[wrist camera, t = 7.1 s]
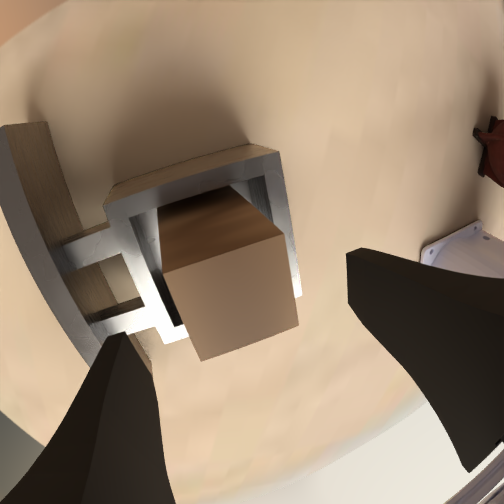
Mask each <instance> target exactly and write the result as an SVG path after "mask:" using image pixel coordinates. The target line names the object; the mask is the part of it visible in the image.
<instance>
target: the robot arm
mask: <svg viewBox="0 0 504 504" xmlns="http://www.w3.org/2000/svg"><path fill="white" fill-rule="evenodd" d="M482 225H483V223H482V221H481V220H477V221H475V222H474V223H472V224H470V225H468V226H466V227H464V228H462V229H460V230H458V231H456V232H454V233H452V234H450V235H448V236H446V237H444V238H442V239H440V240H438V241H436V242H434V243H432V244H430V245H428V246H426V247H424V248H423V250H422V252H421V261H420V263H419V262H415V261H411V260H408V259H404V258H401V257H397V256H394V255H390V254H387V253H383V252H379V251H376V250H371V249H367V248H359V249H356V250H354V251H351V252H349V253H346V263H347V287H348V304H349V305H350V307H351V308H352V310H353V311H354V313H355V314H356V316H357V317H358V318H359V320H360V321H361V322H362V324H363V325H364V326H365V327H366V328H367V329H368V330H369V332H370V333H371V334H372V335H373V336H374V337H375V338H376V339H377V340H378V341H379V342H380V343H381V344H382V345H383V346H384V347H385V348H386V350H387V351H388V352H389V353H390V354H391V355H392V356H393V357H394V358H395V359H396V360H397V361H398V362H399V363H400V364H401V365H402V366H403V368H404V369H405V370H406V371H407V372H408V373H409V375H410V376H411V377H412V379H413V380H414V381H415V383H416V384H417V386H418V387H419V388H420V390H421V391H422V393H423V394H424V395H425V397H426V398H427V400H428V402H429V403H430V405H431V406H432V408H433V409H434V411H435V412H436V414H437V416H438V417H439V419H440V421H441V423H442V424H443V426H444V428H445V430H446V432H447V433H448V435H449V437H450V439H451V441H452V443H453V446H454V448H455V450H456V452H457V454H458V456H459V459H460V461H461V463H462V466H463V467H464V468H465V469H466V470H467V472H468V473H470V472H471V471H472V470H473V469H475V468H476V467H477V466H478V465H479V464H480V463H481V462H482V461H483V460H484V459H485V458H486V457H487V456H488V455H489V454H490V453H491V452H492V451H493V450H494V449H495V448H496V447H497V446H498V445H499V444H500V443H501V442H503V443H504V241H502V240H500V239H498V238H496V237H495V236H493V235H491V234H489V233H487V232H485V231H483V230H482ZM503 478H504V449H503V451H502V452H501V453H500V454H499V455H498V456H497V457H496V458H495V459H494V460H493V461H492V462H491V463H490V464H489V465H488V466H487V467H486V468H485V469H484V470H482V471H481V473H480V474H478V475H477V476H476V477H475V478H474V479H473V480H472V481H471V482H469V483H468V484H467V485H466V486H465V487H464V488H462V489H461V490H460V491H459V492H458V493H456V494H455V495H454V496H453V497H451V498H450V499H449V500H448V501H446V502H445V503H444V504H477V503H478V502H479V501H480V500H481V499H482V498H483V497H484V496H485V495H487V494H488V493H489V492H490V491H491V490H492V489H493V488H494V487H495V486H496V485H497V484H498V483H499V482H500V480H502V479H503ZM0 504H176V503H175V500H174V496H173V493H172V490H171V486H170V483H169V479H168V476H167V471H166V466H165V459H164V452H163V444H162V436H161V427H160V418H159V408H158V401H157V396H156V391H155V387H154V382H153V378H152V375H151V373H150V371H149V370H148V368H147V367H146V365H145V364H144V362H143V360H142V359H141V357H140V356H139V354H138V352H137V351H136V349H135V347H134V346H133V344H132V342H131V341H130V339H129V337H128V336H127V334H126V332H125V331H123V332H120V333H117V334H114V335H110V336H107V338H106V340H105V341H104V343H103V345H102V347H101V348H100V350H99V352H98V354H97V356H96V358H95V360H94V362H93V364H92V366H91V368H90V370H89V372H88V374H87V376H86V378H85V380H84V382H83V384H82V386H81V388H80V390H79V391H78V393H77V395H76V397H75V399H74V400H73V402H72V404H71V406H70V408H69V410H68V412H67V414H66V415H65V417H64V419H63V421H62V422H61V424H60V426H59V427H58V429H57V430H56V432H55V434H54V435H53V437H52V438H51V440H50V441H49V443H48V444H47V446H46V447H45V449H44V450H43V451H42V453H41V454H40V456H39V457H38V458H37V459H36V461H35V462H34V464H33V465H32V466H31V468H30V469H29V471H28V472H27V473H26V474H25V476H23V478H22V479H21V480H20V481H19V482H18V484H17V485H16V486H15V487H14V488H13V489H12V490H11V491H10V492H9V493H8V495H7V496H6V497H5V498H4V499H3V500H2V501H1V502H0ZM479 504H504V483H503V484H502V485H500V486H499V487H498V488H497V489H495V490H494V491H493V492H491V493H490V494H489V495H488V496H487V497H485V498H484V499H483V500H482V501H481V502H480V503H479Z"/></svg>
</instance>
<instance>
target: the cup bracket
mask: <svg viewBox="0 0 504 504" xmlns="http://www.w3.org/2000/svg"><path fill="white" fill-rule="evenodd" d="M227 185H230V186H231V187H232V188H233V189H235V190H236V191H237V192H238V193H239V194H240V195H242V196H243V197H244V198H245V199H246V200H247V201H248V202H250V203H251V204H252V205H253V206H254V207H255V208H256V209H257V210H259V211H260V212H261V213H262V214H263V215H264V216H265V217H266V218H268V219H269V220H270V221H271V222H272V223H273V224H274V225H275V226H277V227H278V228H279V229H280V230H281V231H282V232H283V233H284V234H285V240H286V246H287V252H288V258H289V264H290V270H291V277H292V283H293V290H294V296H295V298H296V297H299V296H302V289H301V282H300V275H299V268H298V261H297V255H296V248H295V242H294V235H293V229H292V223H291V217H290V211H289V205H288V199H287V193H286V187H285V181H284V176H283V170H282V165H281V159H280V154H279V151H276V150H273V149H269V148H266V147H262V146H259V145H255V144H251V143H250V144H246V145H242V146H238V147H234V148H230V149H226V150H222V151H219V152H215V153H212V154H208V155H204V156H201V157H198V158H194V159H191V160H187V161H184V162H181V163H178V164H174V165H171V166H168V167H165V168H162V169H159V170H156V171H153V172H150V173H147V174H144V175H141V176H138V177H135V178H133V179H130V180H127V181H124V182H121V183H119V184H116V185H114V186H113V188H112V190H111V191H110V193H109V195H108V197H107V199H106V201H105V202H104V204H103V208H104V210H105V213H106V216H107V218H108V222H105V223H102V224H100V225H97V226H95V227H92V228H89V229H87V230H83V228H82V225H81V223H80V220H79V218H78V215H77V213H76V210H75V208H74V205H73V202H72V200H71V197H70V194H69V191H68V188H67V186H66V183H65V180H64V177H63V174H62V171H61V168H60V165H59V162H58V158H57V155H56V152H55V148H54V145H53V142H52V138H51V134H50V131H49V127H48V123H47V122H33V123H22V124H11V125H4V126H2V127H0V206H1V208H2V211H3V213H4V216H5V218H6V221H7V223H8V226H9V228H10V231H11V233H12V235H13V237H14V240H15V242H16V244H17V246H18V248H19V251H20V253H21V255H22V257H23V259H24V261H25V263H26V265H27V267H28V269H29V271H30V273H31V275H32V277H33V279H34V280H35V282H36V284H37V286H38V288H39V290H40V291H41V293H42V295H43V297H44V299H45V300H46V302H47V304H48V305H49V307H50V309H51V310H52V312H53V314H54V315H55V317H56V319H57V320H58V322H59V323H60V325H61V327H62V328H63V330H64V331H65V333H66V334H67V336H68V337H69V339H70V340H71V342H72V343H73V345H74V346H75V348H76V349H77V351H78V352H79V353H80V355H81V356H82V358H83V359H84V360H85V362H86V363H87V364H88V366H89V367H90V368H91V366H92V364H93V362H94V360H95V358H96V356H97V354H98V352H99V350H100V348H101V347H102V345H103V343H104V341H105V340H106V338H107V336H110V335H114V334H117V333H120V332H123V331H125V332H126V334H127V336H128V337H129V339H130V341H131V342H132V344H133V346H134V347H135V349H136V351H137V352H138V354H139V356H140V357H141V359H142V360H143V362H144V364H145V365H146V367H147V368H148V370H149V371H150V373H151V375H152V378H153V374H152V363H151V362H150V360H149V358H148V357H147V355H146V353H145V352H144V350H143V348H142V347H141V345H140V343H139V342H138V340H137V338H136V336H135V335H134V333H135V332H138V331H141V330H144V329H148V328H151V327H154V326H155V327H156V329H157V331H158V332H159V334H160V336H161V338H162V340H163V342H164V344H167V343H171V342H174V341H177V340H180V339H183V338H186V337H189V335H188V332H187V330H186V328H185V326H184V324H183V321H182V319H181V317H180V314H179V312H178V310H177V307H176V305H175V303H174V300H173V298H172V296H171V293H170V291H169V288H168V286H167V283H166V281H165V278H164V276H163V272H162V262H161V253H160V242H159V231H158V218H157V208H158V207H160V206H163V205H166V204H169V203H172V202H176V201H179V200H182V199H185V198H188V197H191V196H194V195H197V194H201V193H204V192H207V191H210V190H214V189H217V188H220V187H223V186H227ZM120 253H122V256H123V258H124V260H125V263H126V265H127V267H128V270H129V272H130V274H131V276H132V279H133V281H134V283H135V285H136V287H137V290H138V292H139V294H140V297H137V298H134V299H131V300H128V301H126V302H123V303H120V304H118V303H117V301H116V299H115V298H114V296H113V294H112V292H111V290H110V288H109V286H108V284H107V281H106V279H105V277H104V275H103V273H102V271H101V269H100V267H99V265H98V261H101V260H104V259H106V258H109V257H112V256H115V255H117V254H120Z"/></svg>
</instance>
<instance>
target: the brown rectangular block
mask: <svg viewBox="0 0 504 504" xmlns="http://www.w3.org/2000/svg"><path fill="white" fill-rule="evenodd" d="M157 218H158V231H159V242H160V253H161V262H162V272H163V276H164V278H165V281H166V283H167V286H168V288H169V291H170V293H171V296H172V298H173V300H174V303H175V305H176V307H177V310H178V312H179V314H180V317H181V319H182V321H183V324H184V326H185V328H186V330H187V332H188V335H189V337H190V339H191V341H192V343H193V346H194V348H195V350H196V352H197V354H198V356H199V358H200V361H204V360H207V359H210V358H213V357H216V356H219V355H222V354H225V353H228V352H231V351H233V350H236V349H239V348H242V347H244V346H247V345H250V344H253V343H255V342H258V341H261V340H263V339H266V338H269V337H271V336H274V335H276V334H279V333H281V332H284V331H286V330H289V329H291V328H294V327H296V326H299V323H298V316H297V309H296V303H295V296H294V290H293V283H292V277H291V270H290V264H289V258H288V252H287V246H286V240H285V234H284V233H283V232H282V231H281V230H280V229H279V228H278V227H277V226H275V225H274V224H273V223H272V222H271V221H270V220H269V219H268V218H266V217H265V216H264V215H263V214H262V213H261V212H260V211H259V210H257V209H256V208H255V207H254V206H253V205H252V204H251V203H250V202H248V201H247V200H246V199H245V198H244V197H243V196H242V195H240V194H239V193H238V192H237V191H236V190H235V189H233V188H232V187H231V186H230V185H227V186H223V187H220V188H217V189H214V190H210V191H207V192H204V193H201V194H197V195H194V196H191V197H188V198H185V199H182V200H179V201H176V202H172V203H169V204H166V205H163V206H160V207H158V208H157Z"/></svg>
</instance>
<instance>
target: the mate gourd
mask: <svg viewBox="0 0 504 504" xmlns="http://www.w3.org/2000/svg"><path fill="white" fill-rule="evenodd" d="M473 136H474V137H475V138H476V139H477V140H478V141H479V142H480V143H481V145H482V146H483V147H484V150H483V154H482V158H481V162H480V166H479V169H478V174H479V175H480V176H482V177H484V176H485V175H487V176H488V177H489V178H491V179H492V180H493V181H494V182H496V183H497V184H498V185H500V186H501V187H503V188H504V120H498V119H497V117H496V116H491V119H490V124H489V129H488V133H484V132H481V131H480V130H479V129H478V128H474V130H473Z"/></svg>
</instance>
